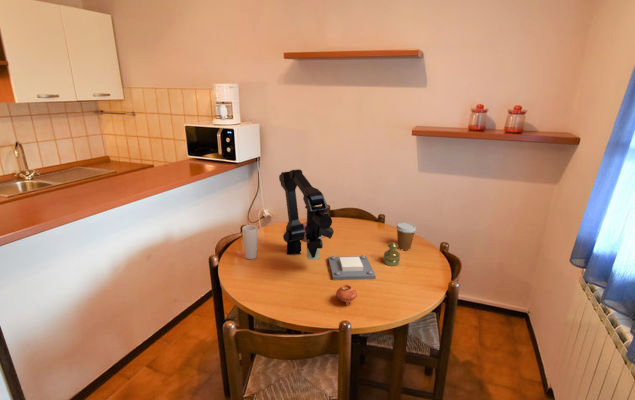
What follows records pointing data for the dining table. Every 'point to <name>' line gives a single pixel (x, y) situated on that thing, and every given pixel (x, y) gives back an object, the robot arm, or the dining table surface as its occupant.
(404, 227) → the disposable coffee cup
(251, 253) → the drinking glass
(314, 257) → the sage brick
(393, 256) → the green tiered ornament
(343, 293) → the pot
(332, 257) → the tower base
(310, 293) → the dining table surface
